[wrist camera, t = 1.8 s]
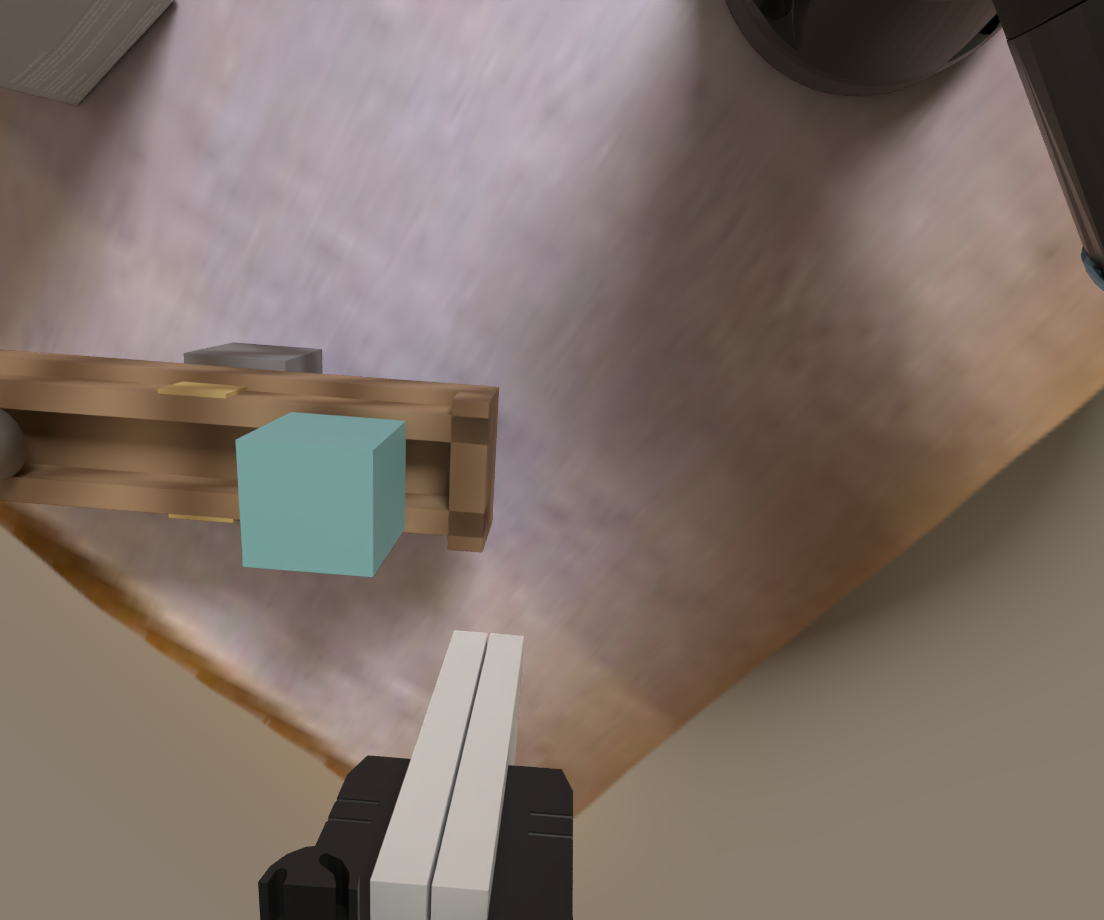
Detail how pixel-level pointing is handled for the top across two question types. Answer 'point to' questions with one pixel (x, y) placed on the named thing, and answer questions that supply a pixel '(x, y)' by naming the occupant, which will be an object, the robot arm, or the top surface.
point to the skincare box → (68, 42)
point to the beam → (227, 432)
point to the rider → (321, 493)
